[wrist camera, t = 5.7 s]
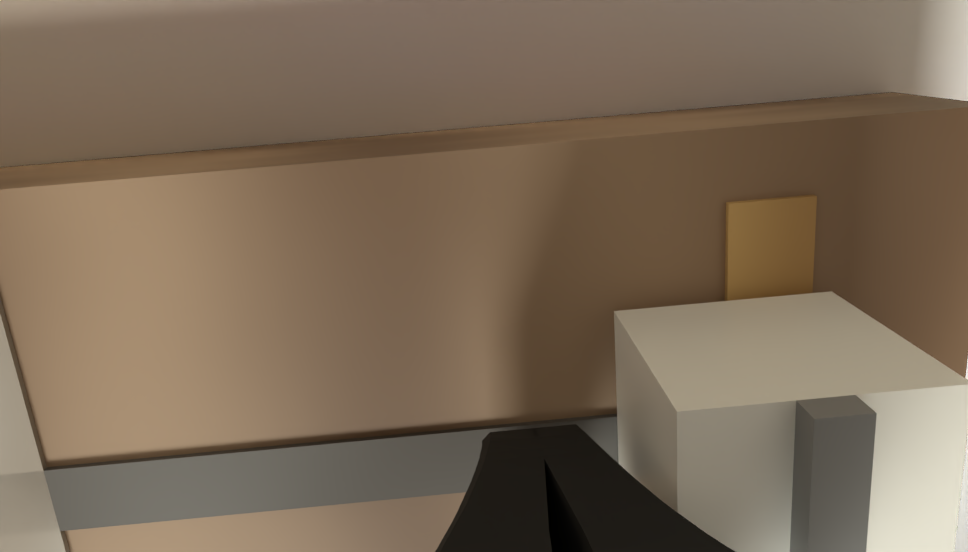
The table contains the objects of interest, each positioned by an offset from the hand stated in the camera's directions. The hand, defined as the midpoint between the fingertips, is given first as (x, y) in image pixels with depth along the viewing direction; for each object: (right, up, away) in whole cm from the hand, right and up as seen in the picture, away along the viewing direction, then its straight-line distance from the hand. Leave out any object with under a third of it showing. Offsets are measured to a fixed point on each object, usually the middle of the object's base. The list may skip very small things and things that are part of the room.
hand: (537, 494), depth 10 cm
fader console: (-2, +1, +3) cm, 4 cm away
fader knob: (+3, +1, +1) cm, 3 cm away
